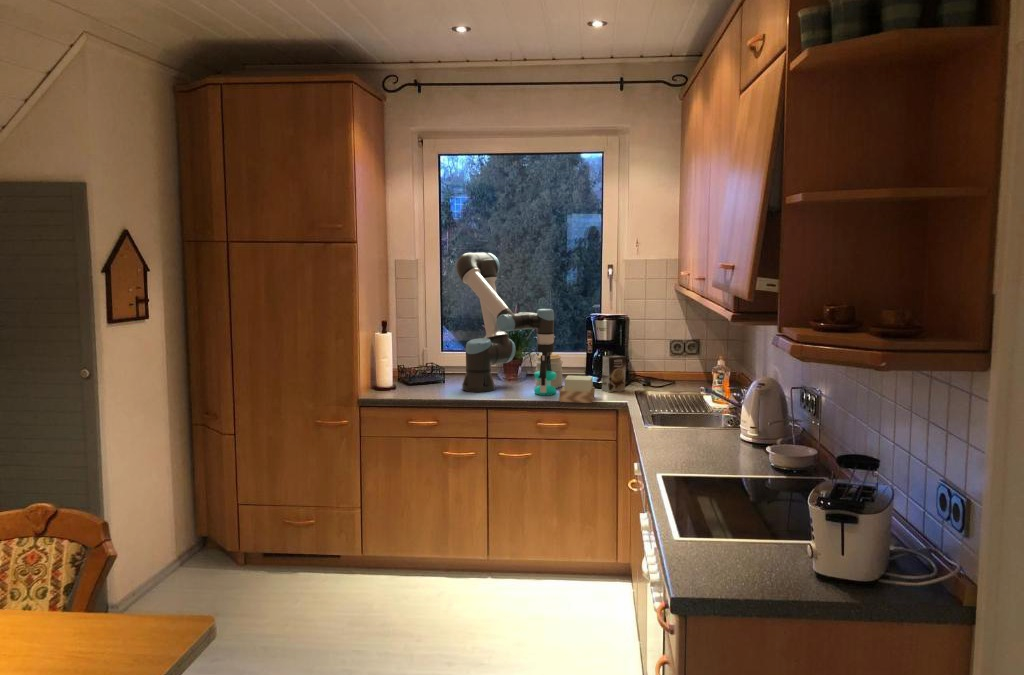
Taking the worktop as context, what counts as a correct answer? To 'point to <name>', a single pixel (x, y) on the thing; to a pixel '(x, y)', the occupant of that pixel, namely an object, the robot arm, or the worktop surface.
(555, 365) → the jar
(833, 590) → the worktop surface
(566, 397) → the tower base
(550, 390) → the donuts
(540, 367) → the robot arm
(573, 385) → the tower top
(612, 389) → the coffee box
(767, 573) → the worktop surface
